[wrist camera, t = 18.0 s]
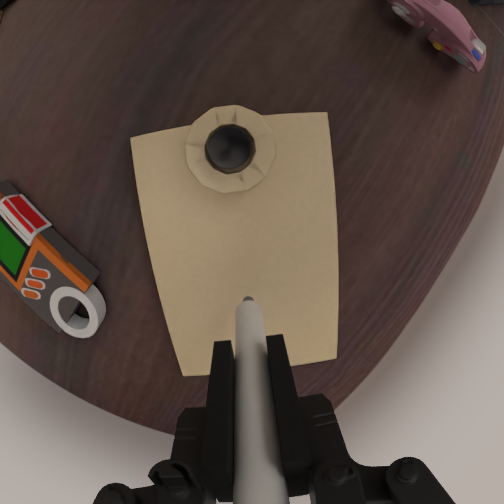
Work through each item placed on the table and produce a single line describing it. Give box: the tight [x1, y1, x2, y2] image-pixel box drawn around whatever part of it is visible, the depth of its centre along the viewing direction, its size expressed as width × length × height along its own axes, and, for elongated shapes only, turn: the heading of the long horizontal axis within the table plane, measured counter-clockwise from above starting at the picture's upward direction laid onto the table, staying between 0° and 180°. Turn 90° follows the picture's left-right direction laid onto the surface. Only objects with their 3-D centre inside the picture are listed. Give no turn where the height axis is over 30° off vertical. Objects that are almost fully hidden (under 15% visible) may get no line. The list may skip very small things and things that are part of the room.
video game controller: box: [387, 0, 486, 73], centre depth 13 cm, size 10×5×7 cm, turn 60°
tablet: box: [130, 105, 338, 376], centre depth 20 cm, size 13×20×2 cm, turn 7°
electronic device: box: [0, 180, 106, 338], centre depth 19 cm, size 7×3×15 cm
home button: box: [208, 127, 251, 169], centre depth 16 cm, size 2×2×1 cm
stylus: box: [233, 296, 290, 504], centre depth 11 cm, size 2×2×16 cm
